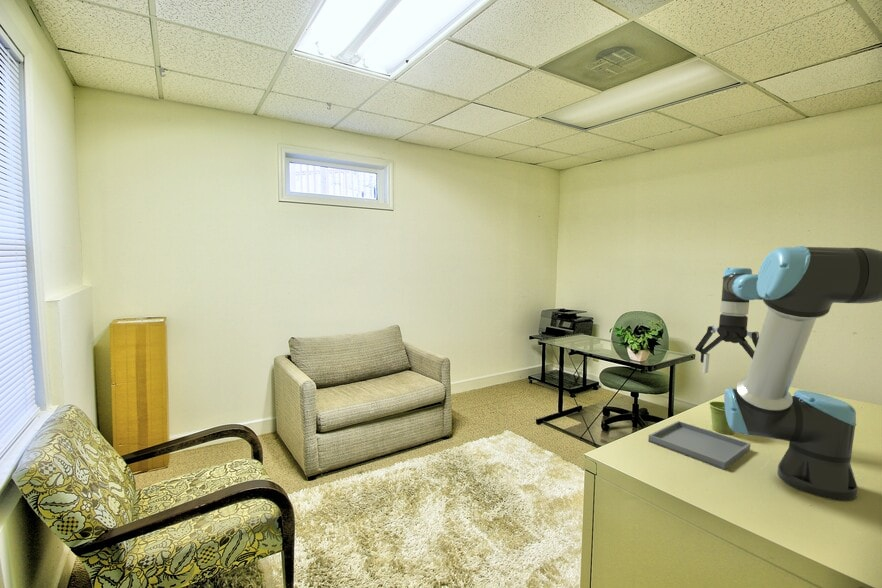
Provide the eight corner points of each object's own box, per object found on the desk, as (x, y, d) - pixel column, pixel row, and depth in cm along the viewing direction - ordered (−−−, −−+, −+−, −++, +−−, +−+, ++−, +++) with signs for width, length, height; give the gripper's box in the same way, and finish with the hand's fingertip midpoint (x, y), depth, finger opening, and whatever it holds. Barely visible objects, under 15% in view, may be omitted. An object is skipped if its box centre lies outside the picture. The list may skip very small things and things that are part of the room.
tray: (677, 426, 139) (678, 420, 139) (750, 450, 123) (750, 443, 123) (648, 441, 127) (648, 435, 127) (724, 470, 111) (724, 462, 111)
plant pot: (740, 439, 131) (742, 413, 130) (705, 431, 136) (707, 406, 135) (740, 430, 138) (743, 405, 137) (707, 423, 144) (709, 399, 143)
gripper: (785, 318, 126) (778, 385, 128) (696, 309, 146) (692, 367, 148) (778, 320, 122) (771, 389, 123) (687, 310, 141) (683, 370, 143)
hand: (728, 377), depth 136 cm, fingers open, 13 cm apart
